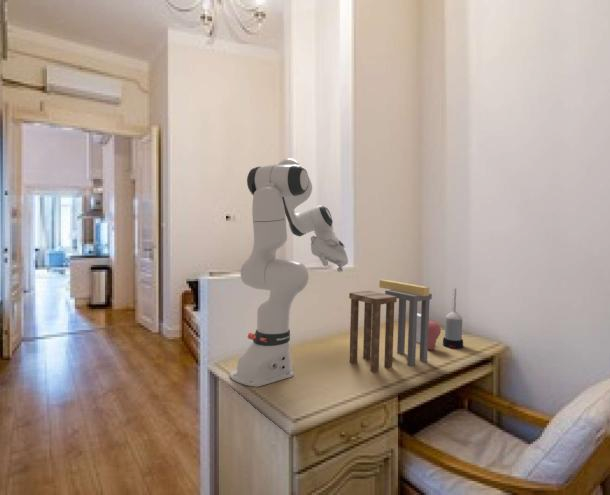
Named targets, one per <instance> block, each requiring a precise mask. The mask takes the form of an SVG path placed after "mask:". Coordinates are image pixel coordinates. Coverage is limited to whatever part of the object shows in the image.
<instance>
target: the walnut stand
mask: <svg viewBox="0 0 610 495" xmlns="http://www.w3.org/2000/svg"><path fill="white" fill-rule="evenodd" d="M348 294H349V296H348V298H349V299H350V326H349V327H350V330H349V331H350V332H349V362H350V363H351V364H355V363H357V362H358V343H359V341H358V339H359V311H360V310H359V307H360V305H359V304H360V303H359V302H362V303H364V314H363V315H364V316H363V317H364V318H363V349H362V350H363V352H362V359H364V360H370V372H372V373H374V374H375V373H378V372H379V370H380V369H379V368H380V367H379V366H380V339H381V337H380V336H381V305H385V307H386V308H385V331H384V332H385V333H384V336H385V337H384V361H383V362H384V364H383V366H384V368H386V369H391V368H392V369H393V358H394V355H393V354H394V351H393V350H394V330H395V329H394V327H395V326H394V325H395V303H397V299H398V298H397V297H396V296H392V295H387V294H385V293H381V292H376V291H372V290H363V291H355V292H354V291H353V292H349V293H348Z"/></svg>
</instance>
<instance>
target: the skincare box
mask: <svg viewBox="0 0 610 495" xmlns="http://www.w3.org/2000/svg"><path fill="white" fill-rule="evenodd" d="M420 334H421V313H418V312H417V329H416V343H418V344H420Z"/></svg>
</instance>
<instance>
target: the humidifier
mask: <svg viewBox="0 0 610 495" xmlns="http://www.w3.org/2000/svg"><path fill="white" fill-rule="evenodd" d="M451 301H452V302H451V304H452V306H451V307H452V311H451V312H449V313H447V314H446V316H445V326H444V337H443V339H442V346H444V347H446V348H448V349H455V350H460V349H463V348H464V340H463V337H462V336H463V331H462V330H463V317H462V316H461V314H460V313H458V312H457V311H456V309H457V308H456V307H457V288H454V289H453V298H452V300H451Z"/></svg>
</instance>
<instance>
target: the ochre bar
mask: <svg viewBox="0 0 610 495" xmlns="http://www.w3.org/2000/svg"><path fill="white" fill-rule="evenodd" d="M378 284H379V288H382V289H386V290H395V291H401V292H406V293H411V294H416V295H421V296H428V295H429V293H430V286H424V285H419V284H412V283H409V282H408V283H406V282H403V281H402V282H401V281H396V280H389V279H379V283H378Z"/></svg>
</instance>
